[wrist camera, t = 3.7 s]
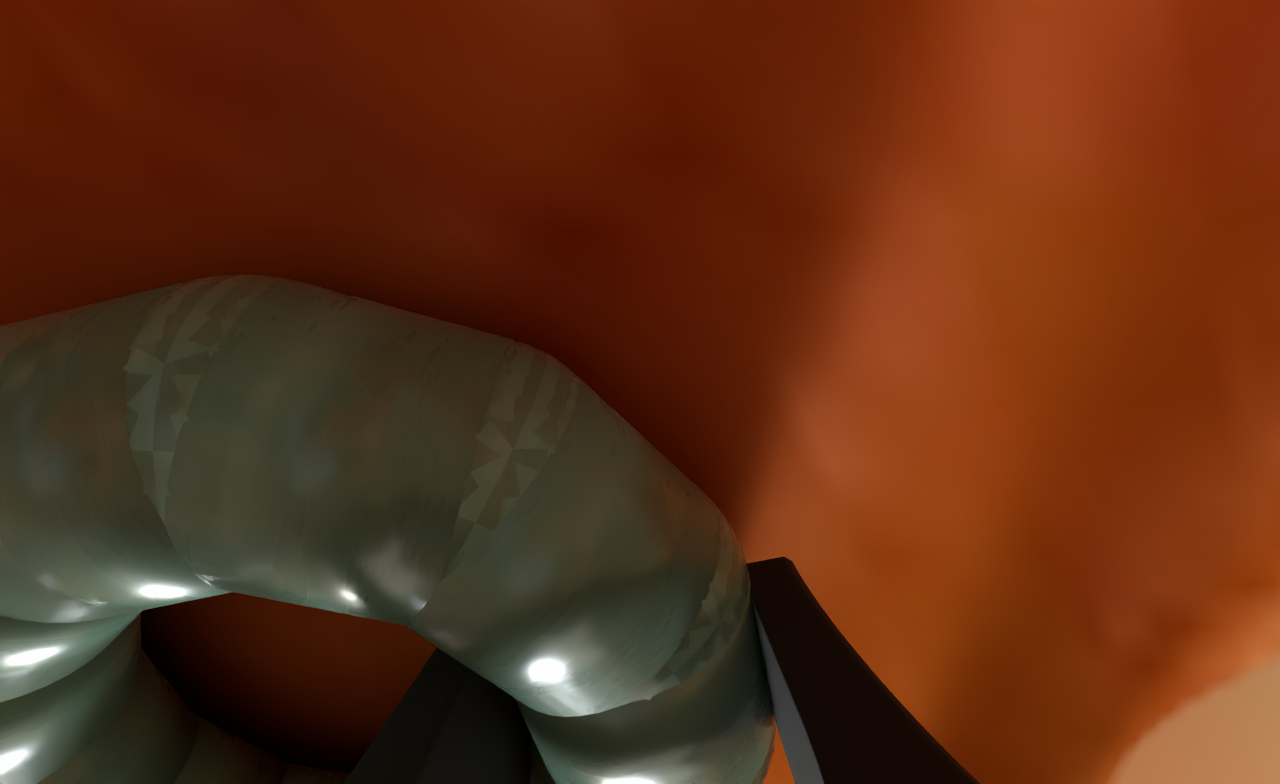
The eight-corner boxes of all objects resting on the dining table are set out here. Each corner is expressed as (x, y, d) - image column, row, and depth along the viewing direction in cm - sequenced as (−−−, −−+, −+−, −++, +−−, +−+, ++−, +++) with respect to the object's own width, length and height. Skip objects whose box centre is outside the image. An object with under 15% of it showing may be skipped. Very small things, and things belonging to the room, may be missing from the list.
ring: (214, 882, 15) (102, 1107, 12) (-267, 371, 9) (-756, 539, 6) (786, 786, 14) (837, 1002, 11) (659, 147, 8) (687, 199, 5)
